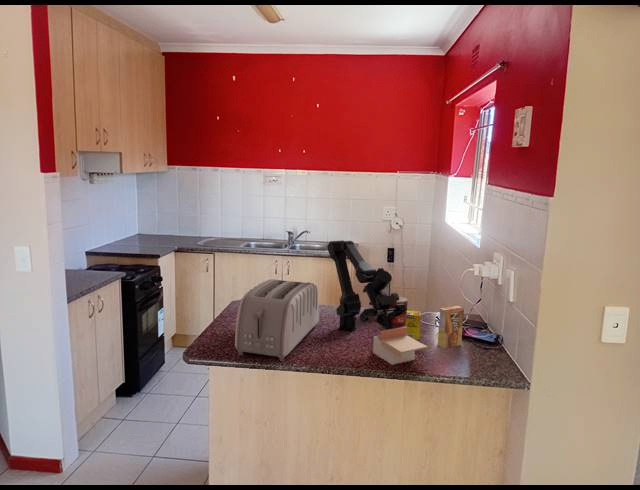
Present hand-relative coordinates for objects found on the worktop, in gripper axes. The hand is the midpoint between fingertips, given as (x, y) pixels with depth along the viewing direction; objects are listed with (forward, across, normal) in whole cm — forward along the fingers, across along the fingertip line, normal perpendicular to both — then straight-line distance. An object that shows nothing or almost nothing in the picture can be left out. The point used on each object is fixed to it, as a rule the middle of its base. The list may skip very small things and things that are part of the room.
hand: (392, 332), depth 175 cm
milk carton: (-24, +25, +36) cm, 50 cm away
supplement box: (-1, +18, +14) cm, 23 cm away
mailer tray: (+7, 0, +5) cm, 9 cm away
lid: (+7, 0, -2) cm, 8 cm away
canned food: (-14, +25, +27) cm, 39 cm away
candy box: (+8, +27, +5) cm, 28 cm away
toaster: (-16, -32, +28) cm, 46 cm away
